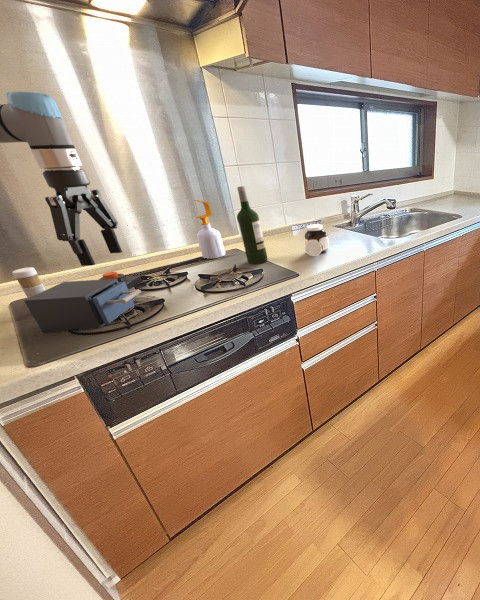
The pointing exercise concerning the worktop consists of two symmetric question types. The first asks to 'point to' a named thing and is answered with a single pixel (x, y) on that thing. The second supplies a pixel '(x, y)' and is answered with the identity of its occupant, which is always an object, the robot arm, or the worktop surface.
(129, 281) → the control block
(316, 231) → the spread jar
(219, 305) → the worktop surface
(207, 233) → the soap bottle
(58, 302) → the grey drawer cabinet
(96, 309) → the blue drawer
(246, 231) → the wine bottle
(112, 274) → the button
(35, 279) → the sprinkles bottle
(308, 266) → the worktop surface
